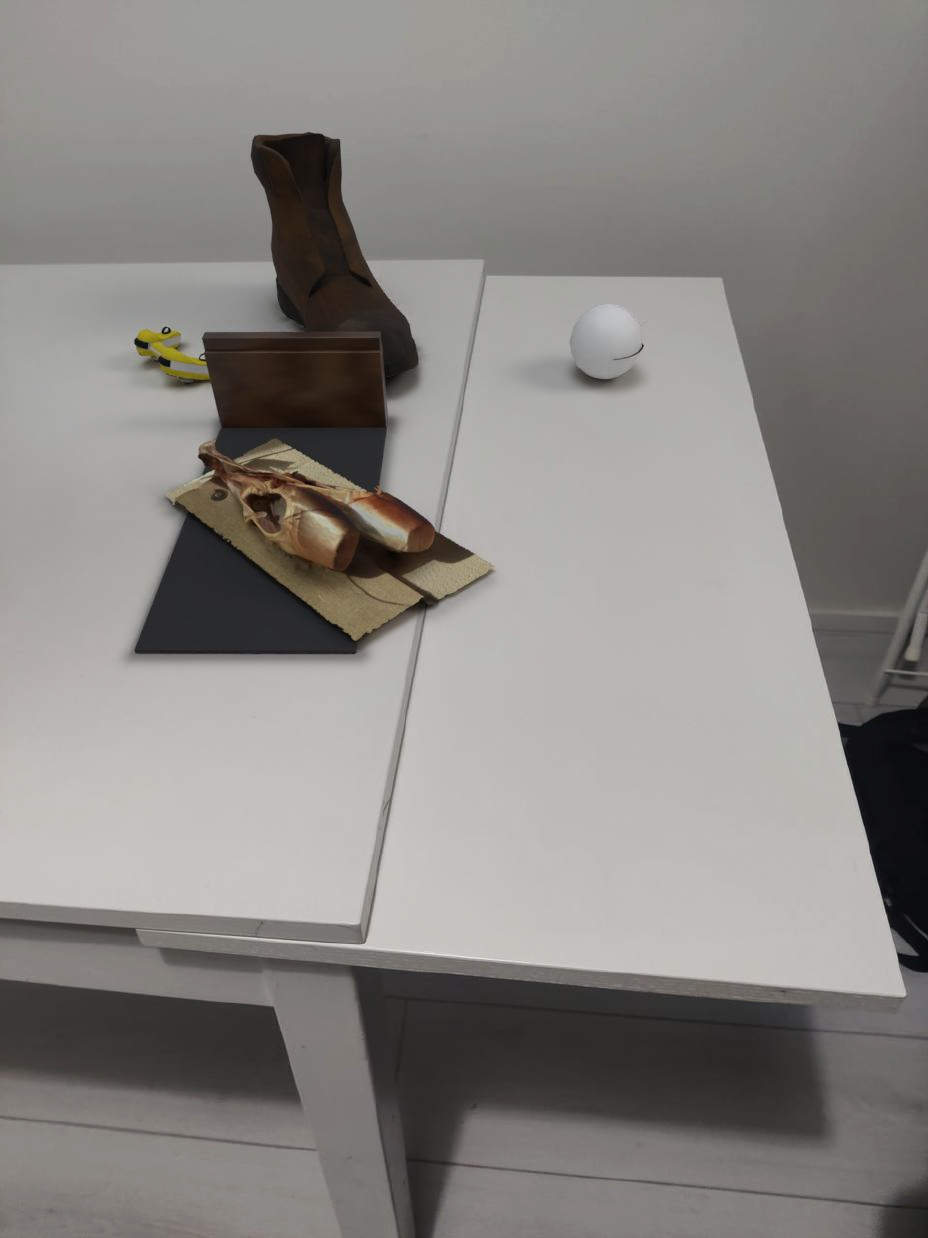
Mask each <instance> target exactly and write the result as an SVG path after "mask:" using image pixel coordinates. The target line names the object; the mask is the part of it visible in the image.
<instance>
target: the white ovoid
mask: <svg viewBox="0 0 928 1238" xmlns="http://www.w3.org/2000/svg"><path fill="white" fill-rule="evenodd" d="M646 323H647V321H645V322H644V323H642V324H641V325H640V323H639V321H638V319H637V318H636V316H635V315H633V313H632V312H631V311H630V310H629V309H627V308H625V307H623V306H621V305H617V304H615V303H614V304H613V303H603V304H598V305H595V306H592V307H590V308H589V309H587V310H586V311H584V312H583V313H582V314H580V316H579V317H578V318H577V320H576V322H575V323H574V324H573V325H572V330H571V334H570V338H569V350H570V354H571V356H572V359H573V360H574V363H575V365H576V366H577V367H578V369H580V370H581V371H582V373H584V374H585V375H587V376H589V377H590V378H594V379H598V380H599V379H600V380H610V379H614V378H615V379H616V378H618V377H620V376H621V375H624V374H625V373H627V372H628V371H629V370H630V369H632V367H633V365H634V364H635V363H636V361H638V359H639V357H640V354H641V351H642V350H643V349H644V347H645V345H644V343H643V331H642V329H641V327H642V326H643V325H645V324H646Z"/></svg>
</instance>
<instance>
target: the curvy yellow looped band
mask: <svg viewBox="0 0 928 1238" xmlns="http://www.w3.org/2000/svg"><path fill="white" fill-rule="evenodd" d="M166 329H167V330H166ZM181 340H182V333H181V332H179V331H177V330H172V329H171V327H168V326H163V327H162V329H161V331H159V332H157V331H156V332H155V331H151V330H150V329H148V328H144V329H141V330H139V332H138V333H137V336H136V337H135V338H134V339H133V344H134V345H135V347H136V348H135V350H136V351H137V353H138V355H139V356H141V357H150V359H151V361H153V362H157V361H158V363H159V367H160V370H161V371H162V372H163V373H164V374H166V375H168V376H170V377H174V378H178V379H179V380H180V382H181V384H189V383H194V380H200V381H201V380H203V381H204V380H210V377H209V373H208V368H207V364H206V360H205V358H201V357H202V356H204V352H203V353H200V354H199V356H198V357H193V356H189V355H186V354H184V353H182V352H181V351H179V350H177V349H176V348H178V347H179V346H180V345H181Z"/></svg>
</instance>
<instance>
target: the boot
mask: <svg viewBox="0 0 928 1238" xmlns="http://www.w3.org/2000/svg"><path fill="white" fill-rule="evenodd" d="M341 150H342V148H341V139H340V138H332V137H329V136H326V135H324V133H321V132H311V131H307V132H303V133H281V134H257V135H254V136H253V138H252V141H251V148H250V159H251V165H252V168H253V172H254V175H255V176H256V178H257V179H258V181H259V183H260V185H261V186H262V188H263V189H264V193H265V197H266V201H267V204H268V208H269V212H270V217H271V241H270V251H271V258H272V263H273V266H274V270H275V271H274V272H275V275H276V277H275V285H276V294H277V295H276V296H277V301H278V304H279V308H280V310H281V311H282V312H283V313H284V315H285V316H286V317H287V318H289V319H290V320H293V321H294V322H296V323H298V324H300V325H301V326H302V327H303V328H304V329H305V330H306V332H376V331H380V332H381V342H382V348H383V361H384V373H385V379H386V378H390V377H393V376H396V375H398V374H401V373H403V372H407V371H409V370H411V369H413V368H416V367H417V366H418V365H419V361H420V358H419V354H418V347H417V344H416V342H415V339H414V338H413V336H412V330H411V324H410V323H409V320H408V318H407V317H406V316H405V315H404V314H403V312H402V311H401V310H400V309H399V308H398V307H397V306H396V305H395V304H394V302H392V301H391V299H390V298H389V296H387V294H386V293H385V291H384V290H383V289H382V287H381V285H380V284H379V282H378V281H377V279H376V277H375V275H374V274H373V273H372V271H371V268H370V267H369V265H368V263H367V261H366V259H365V257H364V254H363V252H362V249H361V246H360V243H359V240H358V237H357V234H356V231H355V227H354V225H353V222H352V220H351V218H350V215H349V213H348V210H347V208H346V205H345V203H344V200H343V193H342V192H343V191H342V182H343V181H342V179H343V171H342V170H343V168H342V166H343V165H342V151H341Z"/></svg>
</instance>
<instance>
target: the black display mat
mask: <svg viewBox="0 0 928 1238" xmlns="http://www.w3.org/2000/svg"><path fill="white" fill-rule="evenodd" d="M386 436H387V428H221V427H220V428H219V431H218V434H217V436H216V438H215V441H214V442H215V447H216V450H217V452H219V453H220V454H222V455H224V456H226V457H229V458H230V459H232V460H233V461H234V459H236V458H239V457H242V456H243V455H244V454H246V453H247V452H249V451H250V450H253V449H255V448H256V447H259V446H261V445H263V444H265V443H267V442H268V441H270V440H272V439H275V438H277V439H278V440H280V441H281V442H282V443H285V445H288V446H290V447H292V449H296V451H299V452H301V453H302V454H303V455H306V457H309V458H310V459H312V460H314V462H318V463H319V464H320V465H323V466H324V467H326V468H328V469H330V470H332V472H334V474H336V473H337V474H339V475H340V477H343V478H346V480H348V481H351V483H354V485H355V486H356V485H357V486H359V487H361V488H362V489H365V490H366V492H372V493H377V491H376V490H375V489H374V487H376V486H378V487H379V486H380V479H381V473H382V465H383V458H384V452H385V451H384V450H385V444H386V438H387V437H386ZM212 470H215V469H213V468H212V467H207V466H205V467H204V469H203V472H202V475H205V474H206V473H208V472H212ZM379 488H380V487H379ZM200 519H201V518H197V516H196V515H195V514H194V513H191V512H189V510H187V513H186V516H185V518H184V521H183V524H182V526H181V529H180V531H179V534H178V537H177V539H176V541H175V544H174V546H173V550H172V551H171V555H170V556H169V560H168V562H167V565H166V567H165V569H164V573H163V575H162V578H161V580H160V583H159V585H158V589H157V591H156V593H155V595H154V599H153V600H152V603H151V606H150V608H149V611H148V613H147V616H146V618H145V622H144V624H143V627H142V630H141V632H140V634H139V637H138V639H137V642H136V645H135V647H134V653H135V654H356V653H357V647H358V640H357V641H355V640H353V639H352V638H351V635H349V633H346V632H344V631H343V630H344V629H343V628H341V627H339V626H338V625H337V624H332V622H329V621H330V620H327V619H326V618H325V617H324V616H322V615H321V614H320V612H317V611H316V610H317V609H313V607H312V605H309V604H307V601H306V602H305V601H304V600H302V598H299V596H297V595H296V594H295V593H293V592H292V591H290V589H289V588H287V587H286V586H284V585H283V584H281V582H279V581H278V580H276V579H277V578H274V577H273V575H270V573H268V571H267V572H266V571H265V570H264V569H262V568H263V567H260V566H259V565H257V563H255V562H254V561H253V560H252V559H249V557H247V555H246V554H245V553H243V551H241V550H240V549H237V547H238V546H236V547H234V545H232V544H231V543H232V541H231V540H230V539H229V538H228V539H227V538H225V539H223V536H222V534H221V535H219V533H216V531H214V528H215V527H213V528H211V527H210V526H208V525H207V524H206V523H203V522H202V520H200ZM227 540H230V541H229V542H227Z"/></svg>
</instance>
